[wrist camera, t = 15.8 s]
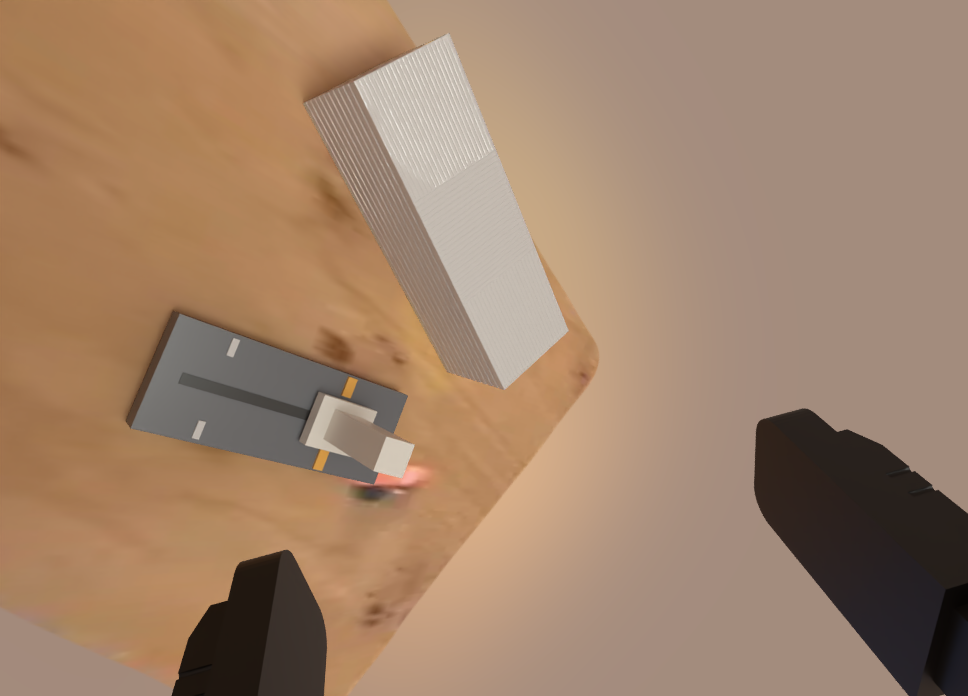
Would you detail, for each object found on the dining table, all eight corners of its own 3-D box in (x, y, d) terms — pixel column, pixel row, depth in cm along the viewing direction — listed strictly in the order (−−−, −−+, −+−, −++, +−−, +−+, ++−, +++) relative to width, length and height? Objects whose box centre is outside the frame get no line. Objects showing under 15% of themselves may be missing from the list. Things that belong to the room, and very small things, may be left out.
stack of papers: (301, 103, 56) (353, 81, 48) (388, 60, 61) (449, 32, 53) (445, 371, 71) (504, 390, 63) (506, 320, 76) (568, 331, 67)
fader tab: (299, 440, 58) (353, 479, 49) (318, 391, 58) (376, 420, 49) (352, 454, 61) (411, 492, 52) (370, 408, 62) (432, 438, 53)
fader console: (125, 420, 51) (131, 429, 49) (173, 310, 52) (180, 314, 50) (362, 477, 66) (375, 485, 64) (396, 390, 67) (409, 396, 65)
